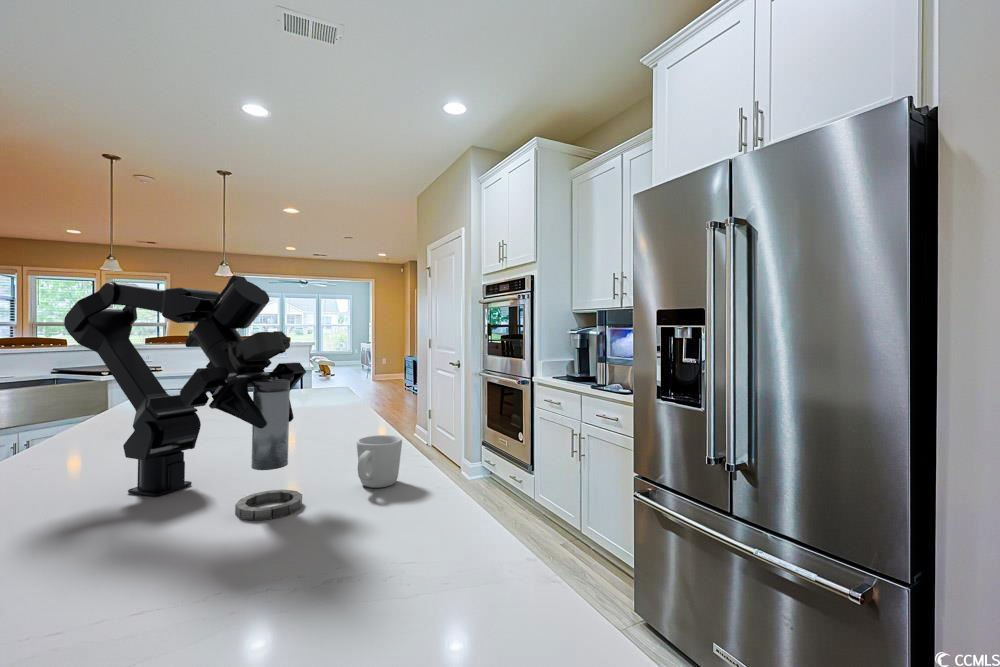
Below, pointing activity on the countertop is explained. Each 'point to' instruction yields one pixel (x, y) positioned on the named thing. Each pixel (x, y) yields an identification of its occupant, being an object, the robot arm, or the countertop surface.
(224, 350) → the robot arm
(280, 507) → the ring
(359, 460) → the cup
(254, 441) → the dark grey metallic cylinder
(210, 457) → the countertop surface
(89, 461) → the countertop surface
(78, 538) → the countertop surface
